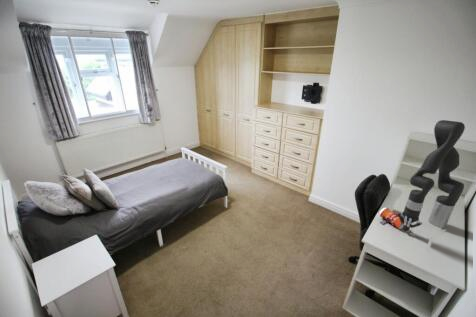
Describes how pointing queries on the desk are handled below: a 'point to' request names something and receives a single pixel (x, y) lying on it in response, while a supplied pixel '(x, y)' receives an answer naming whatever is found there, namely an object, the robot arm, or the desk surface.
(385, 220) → the slate strip
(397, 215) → the walnut block
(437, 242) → the desk surface
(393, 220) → the paper cup
